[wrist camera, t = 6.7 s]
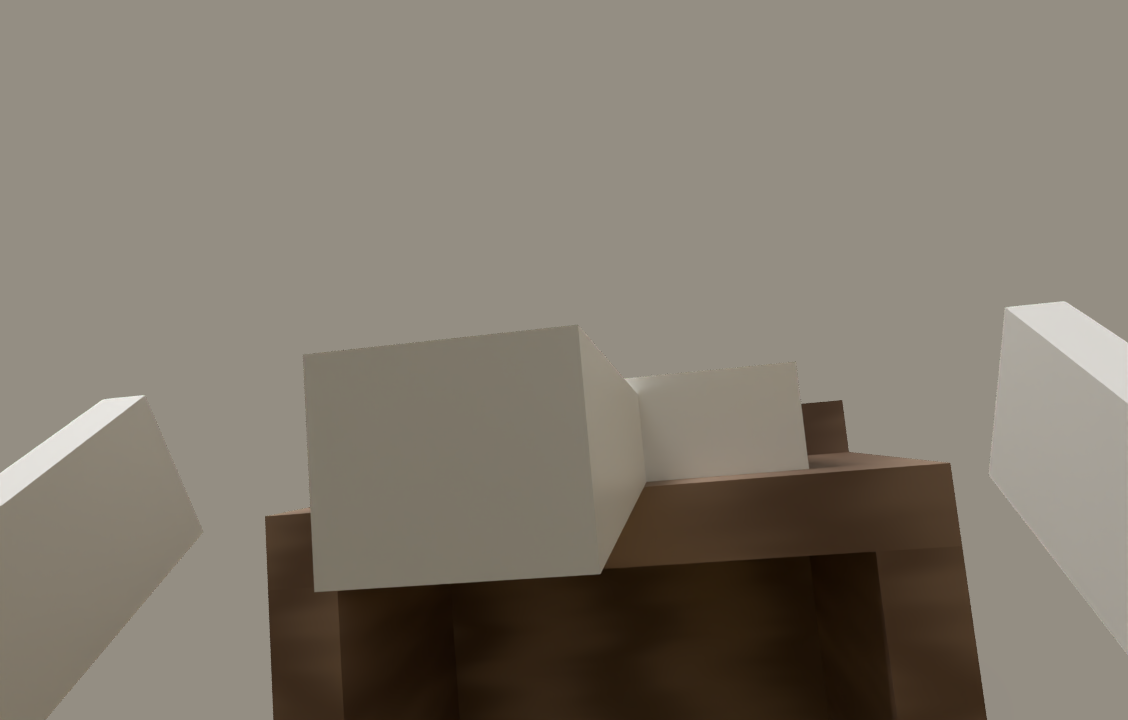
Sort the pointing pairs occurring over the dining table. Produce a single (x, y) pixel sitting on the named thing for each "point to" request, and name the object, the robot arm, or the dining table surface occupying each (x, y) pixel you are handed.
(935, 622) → the walnut stand
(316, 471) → the beige stepped block
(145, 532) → the robot arm
